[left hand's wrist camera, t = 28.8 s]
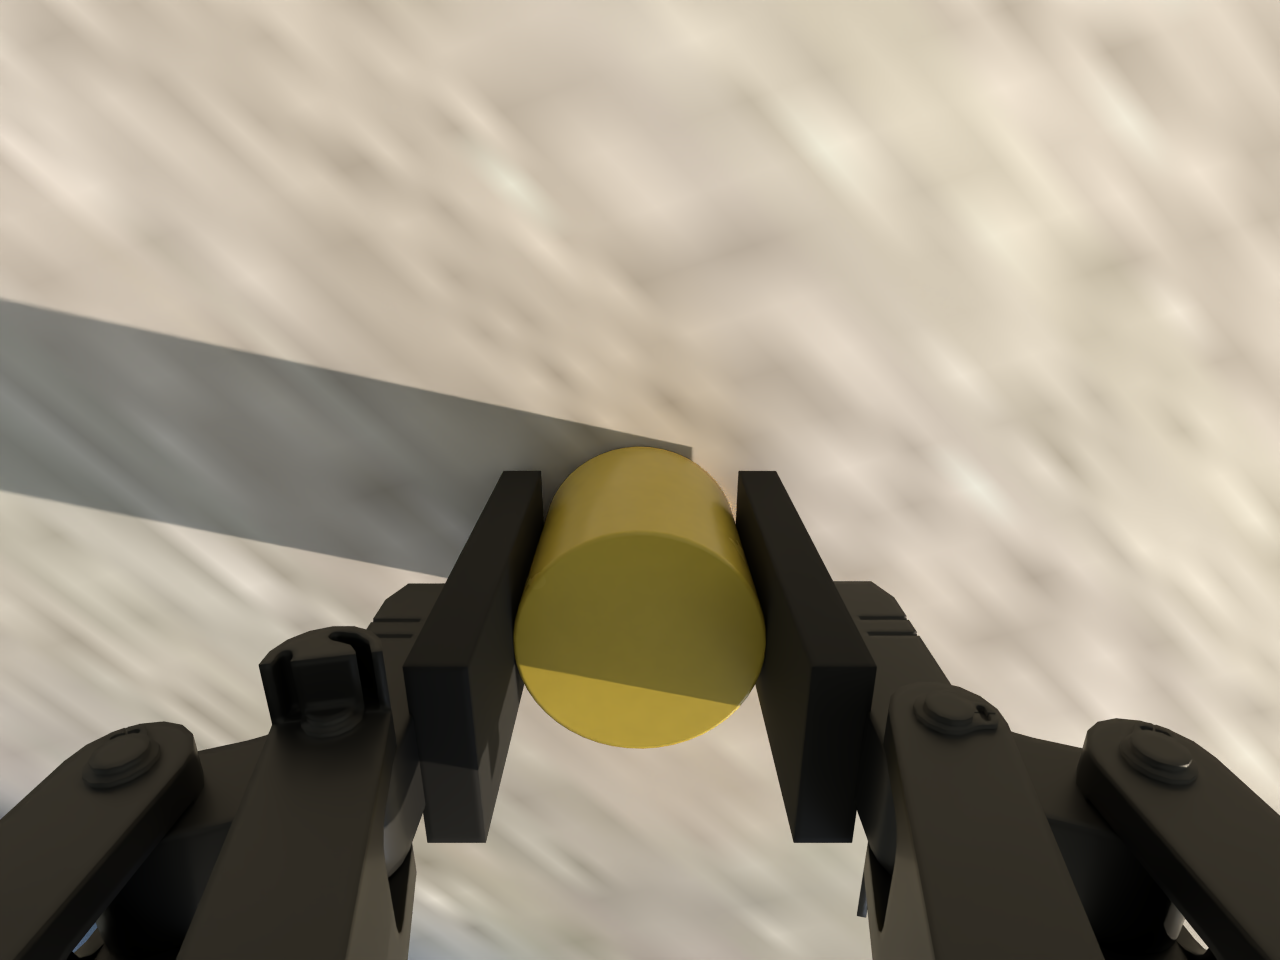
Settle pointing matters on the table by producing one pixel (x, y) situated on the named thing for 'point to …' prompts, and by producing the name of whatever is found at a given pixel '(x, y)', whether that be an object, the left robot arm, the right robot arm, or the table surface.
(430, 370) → the table surface
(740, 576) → the can
